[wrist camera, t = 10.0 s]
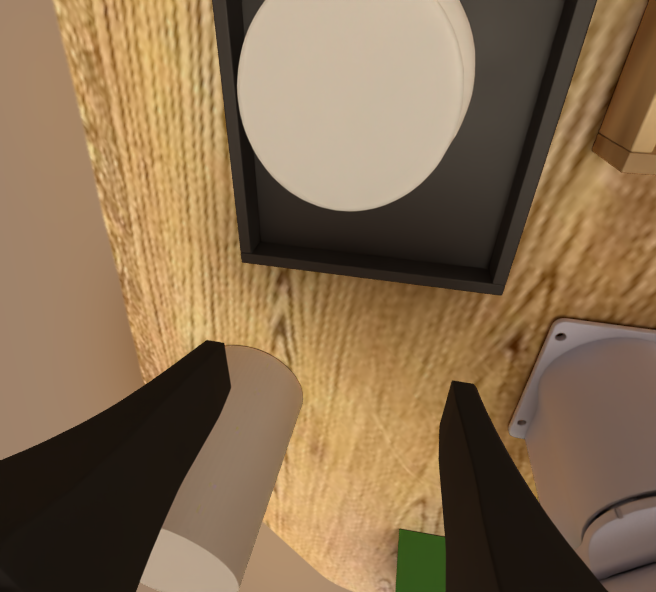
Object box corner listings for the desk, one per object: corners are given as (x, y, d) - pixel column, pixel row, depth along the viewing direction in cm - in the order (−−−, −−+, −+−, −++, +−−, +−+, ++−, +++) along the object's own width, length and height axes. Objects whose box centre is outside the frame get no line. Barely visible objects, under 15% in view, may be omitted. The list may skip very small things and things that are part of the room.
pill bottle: (290, 73, 17) (163, 112, 9) (386, -66, 14) (328, -199, 6) (383, 168, 18) (348, 276, 10) (490, 60, 15) (560, 93, 7)
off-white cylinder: (190, 336, 28) (62, 501, 18) (302, 356, 27) (229, 544, 17) (206, 413, 32) (110, 577, 23) (302, 433, 31) (245, 616, 21)
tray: (496, 275, 21) (502, 296, 19) (254, 246, 23) (241, 262, 21) (658, -261, 11) (698, -312, 9) (212, -224, 13) (181, -260, 11)
